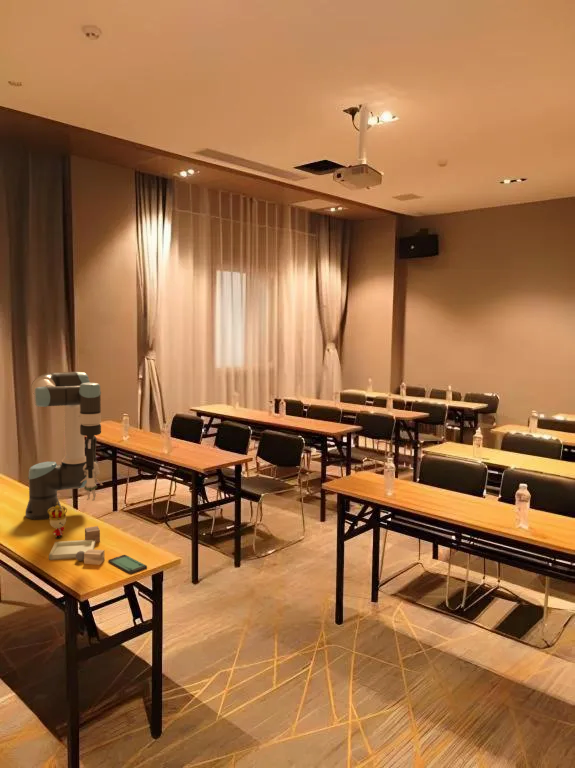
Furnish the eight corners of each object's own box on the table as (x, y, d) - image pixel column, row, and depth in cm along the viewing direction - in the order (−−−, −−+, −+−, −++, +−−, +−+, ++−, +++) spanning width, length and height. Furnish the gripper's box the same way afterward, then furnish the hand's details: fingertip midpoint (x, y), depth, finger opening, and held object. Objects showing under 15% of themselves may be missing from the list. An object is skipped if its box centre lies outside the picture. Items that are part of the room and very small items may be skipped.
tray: (55, 546, 224) (55, 541, 224) (95, 543, 227) (95, 539, 227) (49, 559, 211) (48, 555, 211) (91, 557, 214) (91, 552, 214)
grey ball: (76, 558, 212) (76, 549, 212) (86, 558, 213) (86, 549, 213) (75, 562, 209) (75, 553, 209) (85, 562, 210) (85, 552, 209)
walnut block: (85, 539, 231) (84, 527, 231) (97, 537, 233) (97, 526, 233) (86, 544, 227) (86, 532, 226) (100, 542, 229) (99, 530, 228)
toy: (60, 541, 229) (60, 505, 227) (44, 539, 230) (43, 503, 228) (71, 535, 236) (70, 499, 234) (55, 533, 237) (54, 498, 235)
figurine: (75, 500, 218) (74, 461, 216) (85, 495, 224) (85, 458, 222) (98, 503, 215) (97, 464, 213) (108, 498, 220) (107, 460, 219)
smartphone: (124, 553, 216) (147, 565, 206) (124, 557, 216) (147, 568, 206) (107, 559, 210) (129, 571, 200) (107, 562, 211) (129, 575, 201)
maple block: (89, 559, 213) (88, 549, 212) (104, 560, 212) (104, 550, 212) (84, 563, 209) (84, 553, 208) (100, 564, 208) (99, 554, 208)
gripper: (82, 419, 224) (83, 476, 227) (77, 429, 206) (78, 491, 208) (102, 419, 226) (103, 476, 228) (99, 428, 208) (100, 490, 210)
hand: (91, 483), depth 218 cm, fingers closed on figurine, 6 cm apart
